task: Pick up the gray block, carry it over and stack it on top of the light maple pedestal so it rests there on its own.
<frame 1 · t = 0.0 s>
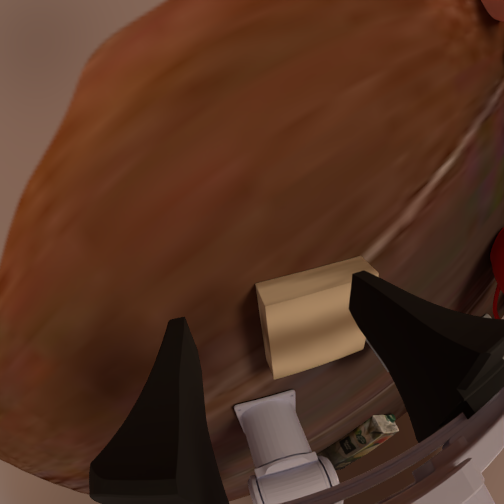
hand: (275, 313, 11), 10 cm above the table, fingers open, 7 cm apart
juice carton: (352, 434, 53), on the table
maple pedestal: (311, 311, 26), on the table
ceramic cup: (494, 254, 33), on the table
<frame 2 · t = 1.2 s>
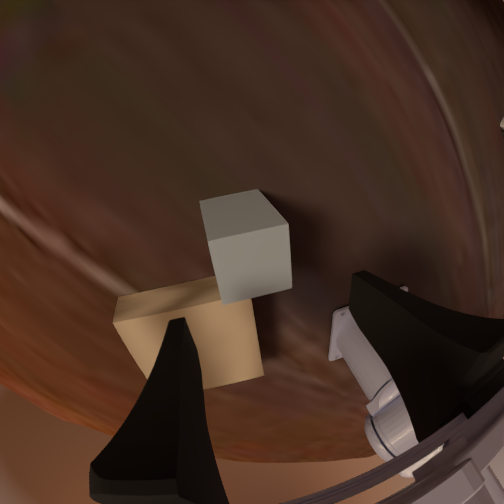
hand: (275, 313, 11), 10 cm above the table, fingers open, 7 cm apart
gray block: (233, 221, 20), on the table
maple pedestal: (193, 329, 23), on the table
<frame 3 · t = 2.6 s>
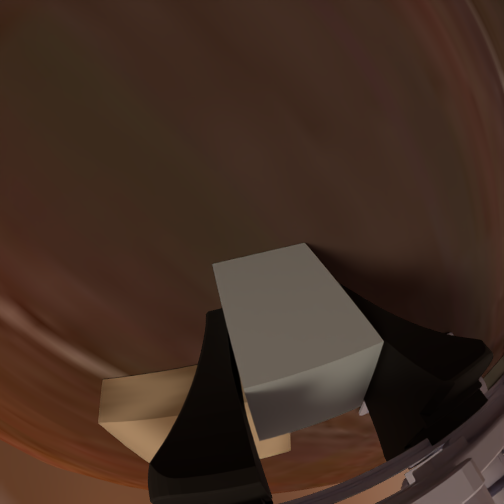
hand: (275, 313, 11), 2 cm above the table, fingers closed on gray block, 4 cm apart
gray block: (264, 290, 13), on the table, touching gripper
cake pan: (493, 370, 48), on the table
maple pedestal: (204, 408, 17), on the table
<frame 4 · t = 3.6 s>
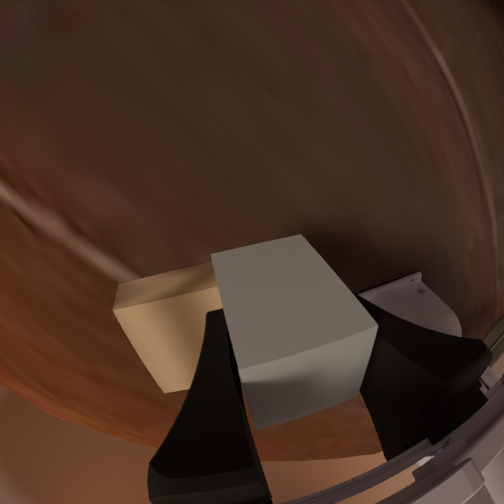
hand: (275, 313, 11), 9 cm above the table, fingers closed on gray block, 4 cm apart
gray block: (261, 281, 13), point 7 cm above the table, touching gripper
cake pan: (485, 345, 53), on the table
maple pedestal: (200, 319, 22), on the table
when the fingers open (5 cm above the table, at t = 5.1 s): gray block stays where it is, resting on maple pedestal.
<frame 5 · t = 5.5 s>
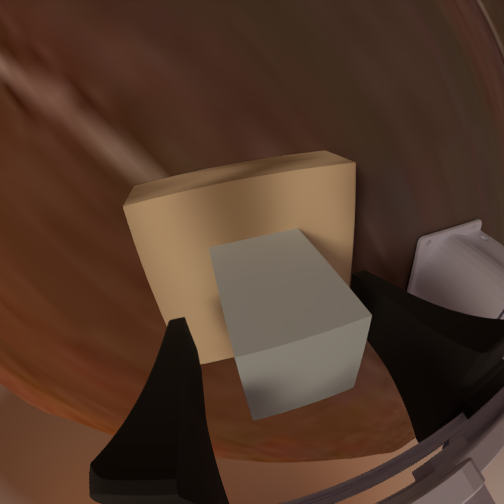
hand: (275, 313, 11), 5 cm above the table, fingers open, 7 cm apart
gray block: (259, 275, 13), point 3 cm above the table, touching maple pedestal
maple pedestal: (246, 251, 16), on the table
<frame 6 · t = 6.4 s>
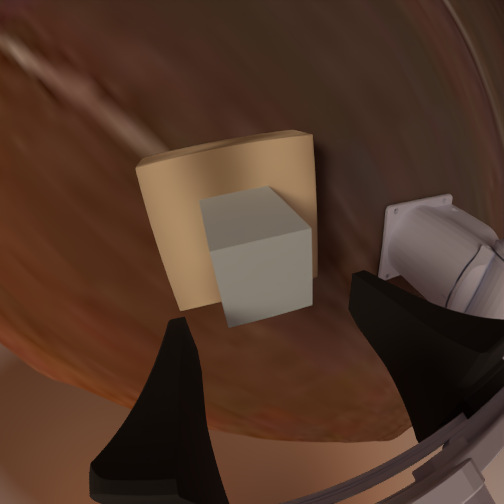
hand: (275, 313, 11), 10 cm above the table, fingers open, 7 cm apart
gray block: (238, 224, 17), point 3 cm above the table, touching maple pedestal
maple pedestal: (231, 211, 19), on the table
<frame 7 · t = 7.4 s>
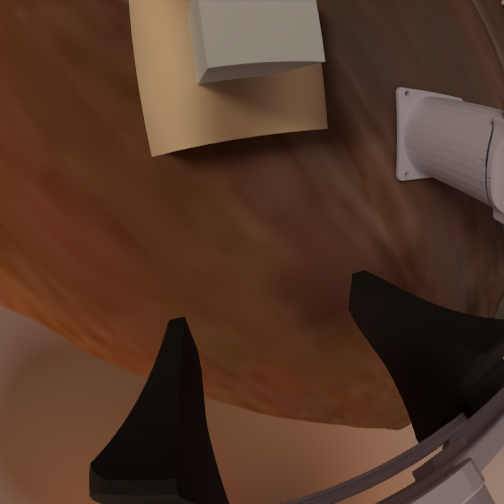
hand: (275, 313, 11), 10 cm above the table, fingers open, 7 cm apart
gray block: (231, 45, 12), point 3 cm above the table, touching maple pedestal
maple pedestal: (224, 59, 14), on the table
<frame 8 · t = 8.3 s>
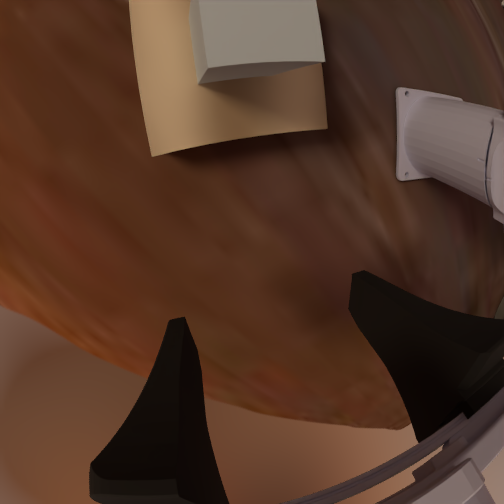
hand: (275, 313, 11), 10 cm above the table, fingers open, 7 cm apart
gray block: (231, 45, 12), point 3 cm above the table, touching maple pedestal
maple pedestal: (224, 59, 14), on the table
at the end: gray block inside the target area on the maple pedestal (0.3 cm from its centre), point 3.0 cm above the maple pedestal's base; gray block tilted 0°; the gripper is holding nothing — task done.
